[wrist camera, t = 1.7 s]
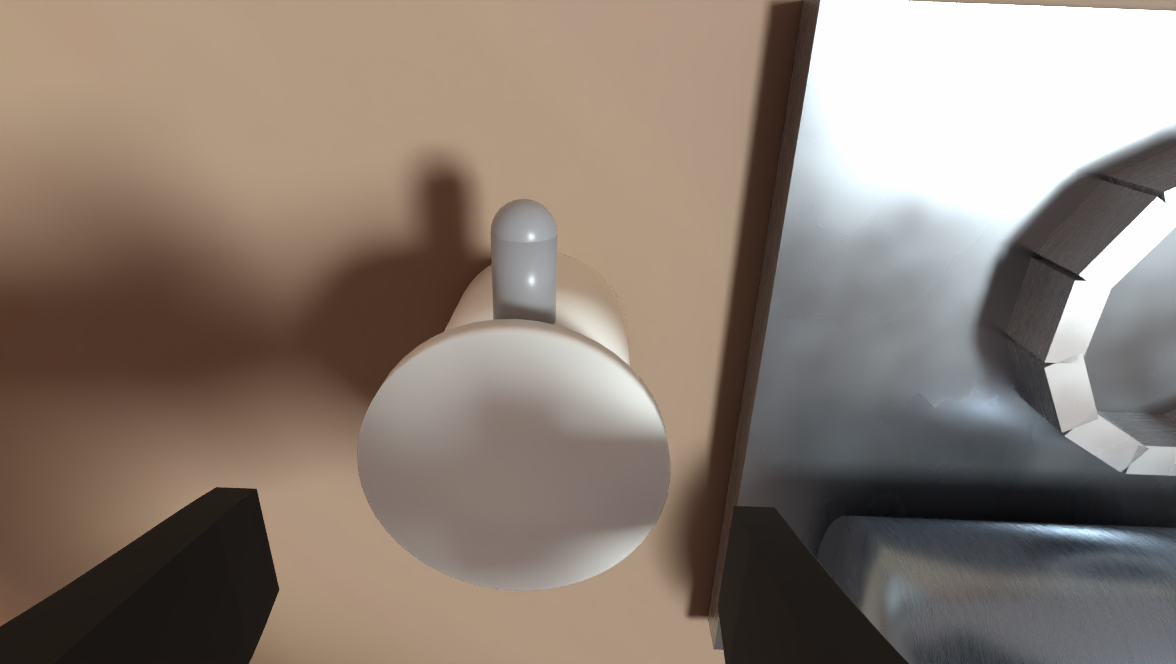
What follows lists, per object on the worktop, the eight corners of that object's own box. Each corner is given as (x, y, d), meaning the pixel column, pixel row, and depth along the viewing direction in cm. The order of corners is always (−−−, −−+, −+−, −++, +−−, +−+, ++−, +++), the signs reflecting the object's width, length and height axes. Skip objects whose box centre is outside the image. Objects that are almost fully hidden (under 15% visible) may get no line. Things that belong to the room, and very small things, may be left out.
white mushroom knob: (640, 427, 18) (657, 595, 13) (440, 420, 18) (374, 585, 13) (661, 163, 15) (696, 238, 10) (421, 154, 15) (323, 224, 10)
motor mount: (1227, 636, 21) (1504, 904, 15) (708, 617, 21) (756, 877, 15) (1610, 30, 14) (2519, 33, 7) (803, 0, 14) (987, -25, 7)
